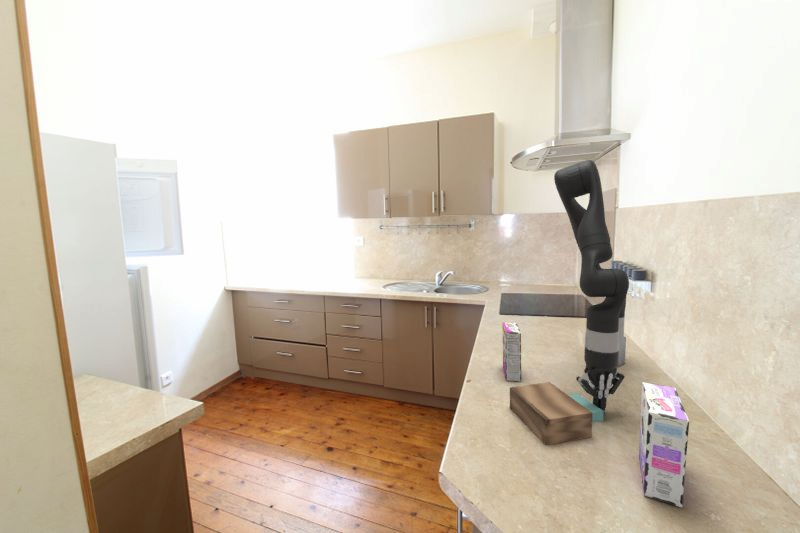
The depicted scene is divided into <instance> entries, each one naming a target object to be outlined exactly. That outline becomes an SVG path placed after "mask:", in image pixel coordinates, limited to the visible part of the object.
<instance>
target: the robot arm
mask: <svg viewBox="0 0 800 533" xmlns="http://www.w3.org/2000/svg"><path fill="white" fill-rule="evenodd" d="M600 177H601V176H600V173H599V169H598V166H597V165H596V163H595V161H593V160H591V159H586V160H582V161H580V162H577V163H574V164H572V165H569V166H566V167H564V168H561V169H558V170H556V172H555V173H554V177H553V179H554V180H553V181H554V185H555V188H556V190H557V193H558V196H559V198H560V200H561V202H562V205H563V206H564V209H565V212H566V214H567V217H568V219H569V222H570V225H571V229H572V232H573V236H574V239H575V242H576V244H577V246H578V249H579V252H580V255H581V256H580V258H581V267H580V276H579V288H580V290H581V292H582V294H584V295H585V296H586V297H589V298H604V300H603V301H602V302H599V303H596V304H594V305H593V304H592V305H590V306H589V307H588V308H587V309H586V323H585V325H586V326H585V327H586V328H585V332H584V333H585V334H584V363H585V368H584V371H583V374H582V375H581V376H579V375H578V376H576V378H575V380H576V382H578V384H579V385H580V387H581V388H582V389H583V390H584V391H585V392H586V394H588V395H589V396H591V397H592V404H594V405H595V406H597V407H598V408H600V409H601V410H603V412H604V411H606V408H607V402H608V401H607V400H608V399H607V398H608V397H609V395H614V394H615V393H616V392H617V389H618V388H619V387H620V385H621V383H622V382H623V380H624V379H625V378H626V377H625V374H623V373H620V372H618V367H622V366H623V365H625V364H626V351H627V350H626V348H627V347H626V346H627V338H626V337H625V316H626V315H625V314H626V313H625V312H626V307H627V306H626V305H627V294H628V292H629V288H630V280H629V277H628V274H627V272H626V271H625V270H623V269H621V268H603V267H601V265H600V264H603V263H606V262H608V261H609V260H611V259H612V258H613V249H612V245H611V237H610V233H609V231H608V226H607V224H606V223H607V222H606V216H605V215H606V214H605V203H604V202H605V201H604V196H603V188H602V182H601V178H600ZM586 195H589V199H588V200H589V201H588V205H587V207H586V208H584V207H583V206H582V205H581V204H580V203H579V202H578V200H577V199H576V198H578V197H583V196H586Z"/></svg>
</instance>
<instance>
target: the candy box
mask: <svg viewBox="0 0 800 533" xmlns="http://www.w3.org/2000/svg"><path fill="white" fill-rule="evenodd" d="M640 404H641V405H640V423H639V424H640V427H639V428H640V429H639V447H638V448H639V452H638V457H639V458H638V459H639V464H640V465H639V466H640V474H641V482H642V490H643V496H645V497H648V498H651V499H655V500H657V501H660V502H664V503H667V504H669V505H673V506H674V507H675V506H676V507H678V508H683V507H684V491H685V478H686V465H687V453H688V440H689V428H690V419H689V417H688V415H687V413H686V412H687V411H686V410H685V408H684V405H683V403H682V401H681V398H680V395H679V393H678V391H677V389H676V387H674V386H673V387H672V386H667V385H666V386H665V385H660V384H655V383H650V382H643V381H642V383H641V401H640Z"/></svg>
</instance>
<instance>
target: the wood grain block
mask: <svg viewBox="0 0 800 533" xmlns="http://www.w3.org/2000/svg"><path fill="white" fill-rule="evenodd" d="M568 395H569V394H567V393H565V392H564V391H562V390H561V389H560V388H559V387H557V386H556V385H554V384H553V383H551V382H549V381H547V382H541V383H533V384H527V385H518V386H511V387H509V409H510V410H511V411H512V412H513V413H514V414H515V415H516V416H517V418H519V419H520V421H521V422H522V423H524V424H525V425H526V427H528V428H529V430H530V431H532V432H533V434H534V435H536V437H537V438H539V440H540V441H541V442H542V443H543V444H544V445H552V444H557V443H563V442H569V441H574V440H581V439H587V438H592V436H593V435H592V434H593V423H592V412H591V411H589V410H588V409H587V408H585V407H584V406H582V405H581V404H580V403H578V402H577V401H575V400H574V399H573V398H571V397H570V396H568Z"/></svg>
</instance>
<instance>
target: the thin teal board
mask: <svg viewBox="0 0 800 533" xmlns="http://www.w3.org/2000/svg"><path fill="white" fill-rule="evenodd" d="M567 395H568V396H570V397H571V398H573V399H574V400H575V401H577V402H578V403H580V404H581V405H582V406H584V407H585V408H587V409H588V410H589V411H591V412H592V424H593V423H599V422H603V421H604V411H603V410H601V409H600V408H598V407H597V406H595V405H594V404H593V402H591V401H590V400H588V399H587V398H585V396H582V395H581V394H579V393H575V394H567Z"/></svg>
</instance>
